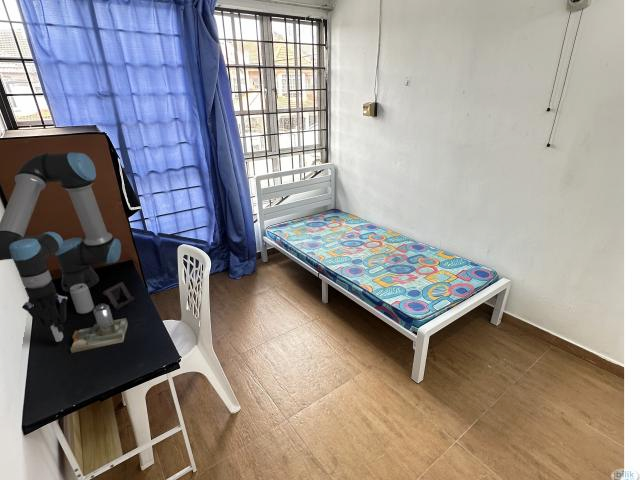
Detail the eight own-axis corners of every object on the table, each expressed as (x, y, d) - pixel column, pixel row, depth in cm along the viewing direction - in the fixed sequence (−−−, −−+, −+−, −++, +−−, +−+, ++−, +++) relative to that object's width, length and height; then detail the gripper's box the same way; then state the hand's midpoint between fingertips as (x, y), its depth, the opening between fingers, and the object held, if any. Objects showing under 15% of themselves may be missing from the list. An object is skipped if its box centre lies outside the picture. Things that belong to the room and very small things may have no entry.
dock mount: (80, 332, 129) (78, 325, 128) (127, 323, 135) (125, 316, 133) (71, 352, 119) (68, 345, 118) (123, 341, 124) (120, 334, 123)
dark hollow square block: (117, 310, 143) (112, 294, 140) (105, 306, 146) (100, 290, 143) (135, 300, 151) (130, 284, 148) (122, 296, 154) (118, 280, 150)
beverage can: (86, 315, 140) (77, 291, 135) (73, 313, 141) (64, 289, 137) (98, 307, 146) (90, 283, 141) (85, 305, 147) (78, 282, 142)
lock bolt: (77, 335, 125) (75, 330, 124) (92, 332, 127) (90, 327, 126) (74, 341, 122) (72, 336, 121) (89, 338, 124) (88, 333, 123)
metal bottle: (102, 330, 129) (94, 303, 124) (117, 327, 130) (109, 300, 126) (99, 337, 124) (90, 310, 120) (114, 334, 126) (106, 307, 121)
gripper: (9, 292, 107) (34, 350, 116) (57, 285, 111) (77, 341, 121) (19, 281, 114) (42, 336, 123) (64, 275, 118) (83, 329, 127)
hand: (59, 339), depth 122 cm, fingers closed
